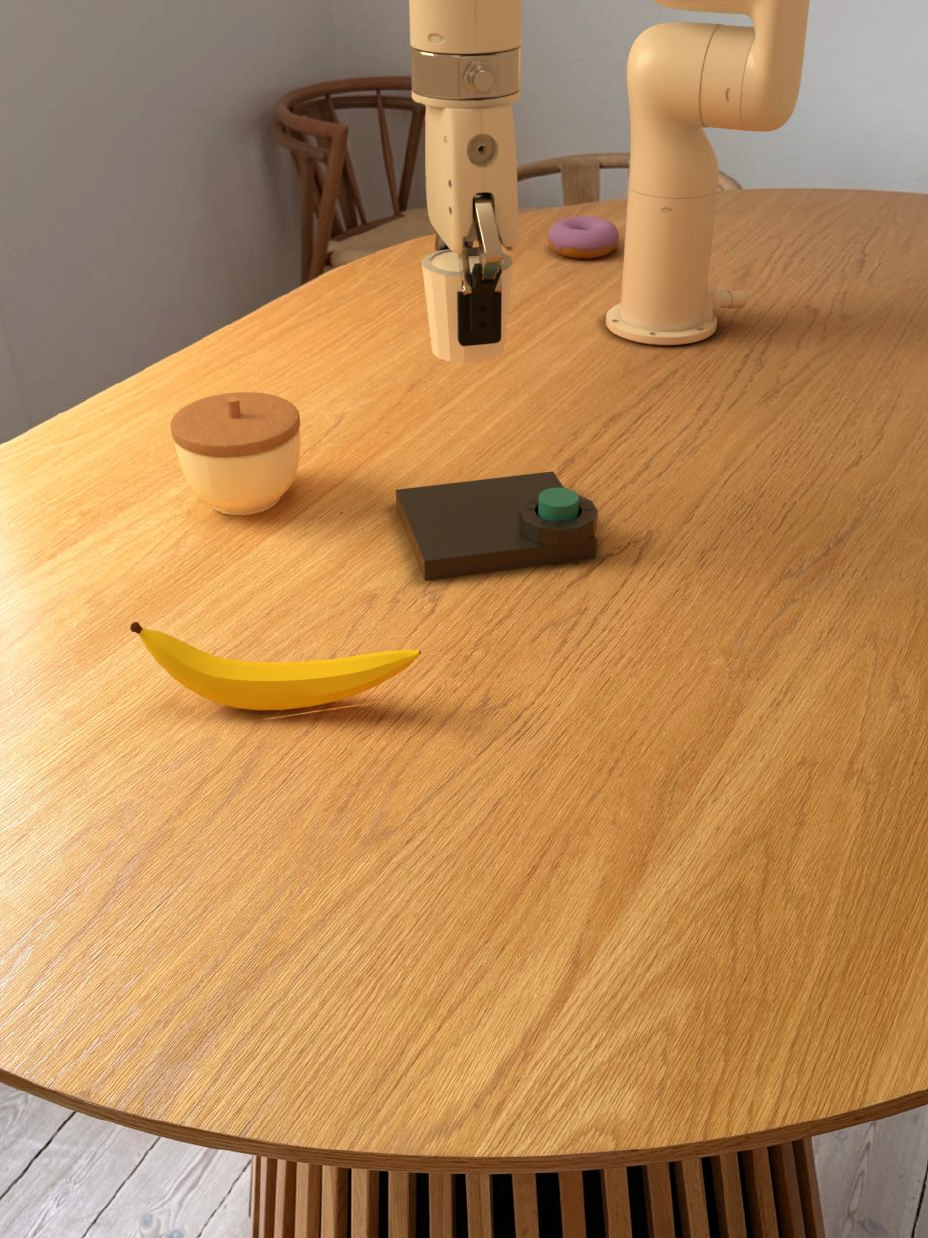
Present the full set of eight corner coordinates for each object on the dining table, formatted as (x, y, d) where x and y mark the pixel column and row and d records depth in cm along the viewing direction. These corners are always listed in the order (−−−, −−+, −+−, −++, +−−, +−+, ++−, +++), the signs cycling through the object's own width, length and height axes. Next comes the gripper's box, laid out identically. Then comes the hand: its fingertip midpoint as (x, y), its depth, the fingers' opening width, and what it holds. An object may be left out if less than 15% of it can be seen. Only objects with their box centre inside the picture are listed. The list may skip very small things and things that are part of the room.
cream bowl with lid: (326, 480, 109) (318, 382, 103) (273, 538, 100) (261, 434, 95) (220, 463, 112) (207, 367, 106) (159, 518, 103) (142, 416, 98)
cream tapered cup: (514, 334, 97) (516, 246, 93) (508, 368, 91) (510, 276, 87) (429, 331, 97) (427, 244, 93) (418, 365, 92) (415, 273, 88)
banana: (420, 725, 80) (418, 647, 77) (138, 714, 81) (123, 636, 78) (425, 698, 83) (422, 621, 79) (151, 687, 84) (136, 611, 80)
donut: (609, 262, 157) (604, 224, 155) (542, 269, 161) (536, 233, 159) (629, 240, 165) (624, 204, 163) (564, 247, 169) (558, 212, 166)
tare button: (571, 502, 99) (572, 485, 98) (583, 521, 96) (584, 503, 95) (533, 506, 98) (533, 489, 97) (544, 525, 96) (545, 508, 95)
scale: (558, 489, 107) (560, 453, 105) (604, 561, 97) (607, 523, 95) (396, 508, 104) (394, 472, 102) (426, 585, 94) (425, 546, 92)
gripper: (555, 97, 77) (546, 363, 87) (487, 50, 91) (487, 284, 101) (439, 103, 75) (444, 373, 85) (389, 55, 89) (398, 292, 99)
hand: (467, 323), depth 93 cm, fingers closed on cream tapered cup, 6 cm apart
